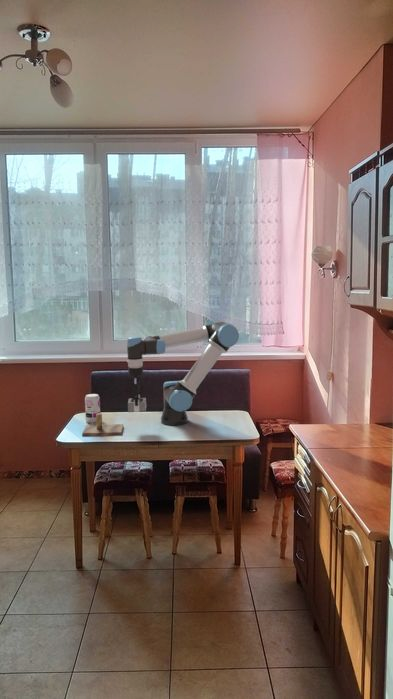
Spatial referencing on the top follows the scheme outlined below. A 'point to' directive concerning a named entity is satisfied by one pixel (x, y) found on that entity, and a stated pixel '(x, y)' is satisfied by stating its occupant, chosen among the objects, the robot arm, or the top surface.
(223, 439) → the top surface
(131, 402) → the grey square socket block
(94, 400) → the supplement can
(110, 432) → the keeper plate
